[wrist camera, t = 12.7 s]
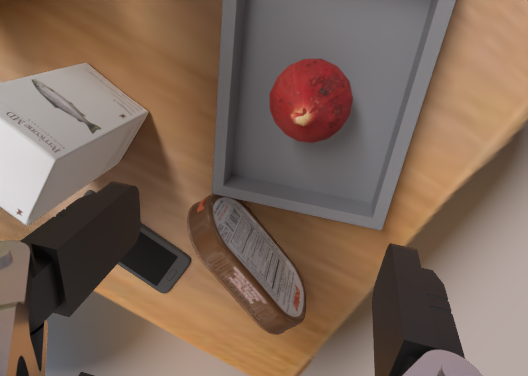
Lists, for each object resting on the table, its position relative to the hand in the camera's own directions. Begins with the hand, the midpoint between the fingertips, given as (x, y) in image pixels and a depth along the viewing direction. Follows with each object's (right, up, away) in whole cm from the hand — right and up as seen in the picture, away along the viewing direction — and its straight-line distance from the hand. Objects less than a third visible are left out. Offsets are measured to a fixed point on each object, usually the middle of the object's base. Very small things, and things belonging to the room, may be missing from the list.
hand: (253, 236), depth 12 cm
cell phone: (-15, -5, +32) cm, 36 cm away
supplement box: (-15, +9, +25) cm, 30 cm away
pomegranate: (+4, +9, +18) cm, 21 cm away
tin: (0, -3, +27) cm, 28 cm away
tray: (+5, +10, +19) cm, 22 cm away
